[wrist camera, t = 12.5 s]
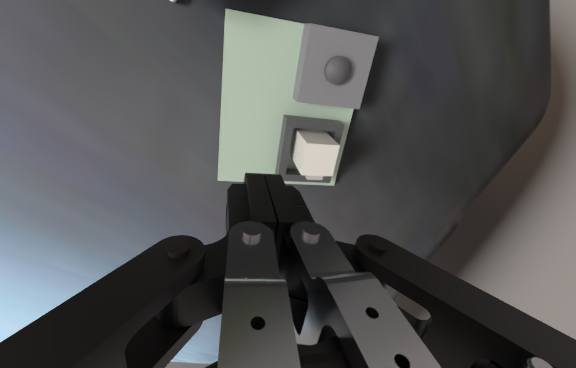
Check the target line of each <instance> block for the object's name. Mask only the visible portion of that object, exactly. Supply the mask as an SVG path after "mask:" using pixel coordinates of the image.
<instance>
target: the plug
mask: <svg viewBox="0 0 576 368" xmlns="http://www.w3.org/2000/svg"><path fill="white" fill-rule="evenodd" d="M339 147H340V145H339V144H338V143H337V142H336V141H335V140H334V139H333V138H332V137H331V136H330V135H329V134H327V133H326V132H325V131H323V130H312V129H302V128H295V129H294V136H293V142H292V148H291V155H290V156H291V158H292V160H293V161H294V163H295V165H296V167H297V169H298V170H299V172H300V174H301V175H305V177H306V179H307V180H322V179H323V176H333V172H334V168H335V164H336V160H337V156H338V152H339Z"/></svg>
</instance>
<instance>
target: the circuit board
mask: <svg viewBox="0 0 576 368" xmlns="http://www.w3.org/2000/svg"><path fill="white" fill-rule="evenodd" d="M378 39H379V37H377V36H372V35H367V34H362V33H357V32H352V31H347V30H342V29H337V28H332V27H326V26H321V25H316V24H311V23H308V24H302V23H297V22H292V21H287V20H282V19H277V18H272V17H266V16H261V15H256V14H251V13H246V12H241V11H236V10H231V9H225V29H224V51H223V73H222V95H221V117H220V139H219V161H218V181H236V182H244V177H245V173H262V174H275V170H276V163H277V156H278V149H279V142H280V136H281V129H282V122H283V115H292V116H301V117H311V118H320V119H330V120H339V121H340V122H342V123H343V124H344V129H343V133H342V137H341V141H340V147H339V152H338V156H337V160H336V164H335V168H334V172H333V176H332V177H331V181H330V183H317V182H293V181H284V183H285V184H310V185H334V183H335V180H336V176H337V172H338V168H339V164H340V160H341V156H342V153H343V149H344V145H345V141H346V137H347V133H348V129H349V126H350V122H351V118H352V114H353V110H354V109H360V106H361V102H362V98H363V94H364V91H365V87H366V83H367V79H368V76H369V72H370V68H371V65H372V61H373V57H374V53H375V50H376V46H377V42H378ZM294 129H295V128H293V134H292V139H291V145H290V151H289V157H288V163H287V168H290V169H297V167H296V165H295V163H294V161H293V160H292V158H291V156H290V155H291V148H292V142H293V136H294ZM325 132H326V133H327V134H329V131H325Z"/></svg>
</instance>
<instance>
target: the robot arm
mask: <svg viewBox="0 0 576 368" xmlns="http://www.w3.org/2000/svg"><path fill="white" fill-rule="evenodd" d="M387 285H389V286H390V287H392V288H394V289H395V290H397V291H398V292H400V293H402V294H403V295H405V296H407V297H408V298H410V299H412V300H413V301H415V302H416V303H418V304H419V305H421V306H423V307H424V308H425V309H427V310H428V312H429V313H430V315H431V317H430V318H429V319H428V320H419V319H417V318H415V317H414V316H412V315H411V314H409V313H408V312H406V311H405V310H403V309H401V308H400V307H398V306H397V305H396V304H395V303H394V301H393V300H392V298H391V297H390V296H389V294H388V293H387V292H386V290H385V289H386V287H387ZM219 314H222V319H221V330H220V342H219V354H218V361H217V362H214V363H213V364H211V365H209V366H207V367H205V368H576V340H575V339H573V338H571V337H569V336H567V335H565V334H564V333H562V332H560V331H558V330H556V329H554V328H552V327H550V326H548V325H547V324H545V323H543V322H541V321H539V320H537V319H535V318H533V317H531V316H529V315H528V314H526V313H524V312H522V311H520V310H518V309H516V308H515V307H513V306H511V305H509V304H507V303H505V302H503V301H501V300H499V299H498V298H496V297H494V296H492V295H490V294H488V293H486V292H484V291H482V290H481V289H479V288H477V287H475V286H473V285H471V284H469V283H467V282H465V281H464V280H462V279H460V278H458V277H456V276H454V275H452V274H450V273H448V272H447V271H445V270H443V269H441V268H439V267H437V266H435V265H433V264H432V263H430V262H428V261H426V260H424V259H422V258H420V257H418V256H416V255H415V254H413V253H411V252H409V251H407V250H405V249H403V248H401V247H399V246H398V245H396V244H394V243H392V242H390V241H388V240H386V239H384V238H382V237H379V236H376V235H369V234H368V235H362V236H360V237H358V239H357V241H356V244H355V245H353V244H348V243H343V242H339V241H335V240H334V238H333V237H332V235H331V234H330V232H329V231H328V230H327V229H326V228H325V227H323V226H321V225H319V224H317V223H315V222H314V220H313V218H312V216H311V214H310V212H309V210H308V208H307V206H306V204H305V202H304V200H303V198H302V195H301V193H300V192H299V191H298V190H297V189H295V188H294V187H293V186H286V185H285V183H284V181H283V178H282V176H281V174H262V173H245V177H244V184H232V185H231V186H230V187H229V189H228V192H227V207H226V236H225V237H224V238H223V239H221V240H219V241H217V242H215V243H212V244H208V245H204V244H203V243H202V242H201V241H200V240H198V239H197V238H194V237H191V236H186V235H178V236H172V237H168V238H165V239H163V240H161V241H159V242H158V243H156V244H155V245H153V246H152V247H150V248H148V249H147V250H145V251H144V252H142V253H141V254H139V255H137V256H136V257H134V258H133V259H131V260H130V261H128V262H126V263H125V264H123V265H122V266H120V267H119V268H117V269H115V270H114V271H112V272H111V273H109V274H108V275H106V276H104V277H103V278H101V279H100V280H98V281H97V282H95V283H93V284H92V285H90V286H89V287H87V288H85V289H84V290H82V291H81V292H79V293H78V294H76V295H74V296H73V297H71V298H70V299H68V300H67V301H65V302H63V303H62V304H60V305H59V306H57V307H56V308H54V309H52V310H51V311H49V312H48V313H46V314H45V315H43V316H41V317H40V318H38V319H37V320H35V321H34V322H32V323H30V324H29V325H27V326H26V327H24V328H23V329H21V330H19V331H18V332H16V333H15V334H13V335H12V336H10V337H8V338H7V339H5V340H4V341H2V342H1V343H0V368H165V367H166V365H167V364H168V363H169V362H170V361H171V360H172V359H173V358H174V356H175V355H176V354H177V353H178V352H179V351H180V350H181V349H182V348H183V346H184V345H185V344H186V343H187V342H188V341H189V340H190V339H191V337H192V336H193V335H194V334H195V333H196V332H197V331H198V329H199V328H200V327H201V325H202V322H203V321H204V320H206V319H209V318H212V317H214V316H217V315H219Z"/></svg>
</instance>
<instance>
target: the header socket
mask: <svg viewBox="0 0 576 368" xmlns="http://www.w3.org/2000/svg"><path fill="white" fill-rule="evenodd" d="M293 128H302V129H312V130H323V131H329V135H330V136H331V137H332V138H333V139H334V140H335V141H336V142H337V143H338V144H339V145H340V141H341V137H342V133H343V129H344V124H343V123H342V122H340V121H339V120H330V119H320V118H311V117H301V116H292V115H283V122H282V129H281V136H280V142H279V149H278V156H277V163H276V170H275V174H281V176H282V178H283V181H293V182H317V183H330V181H331V177H332V176H323V179H322V180H307V179H306V177H305V175H301V174H300V172H299V170H298V169H290V168H287V163H288V157H289V151H290V145H291V139H292V134H293Z"/></svg>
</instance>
